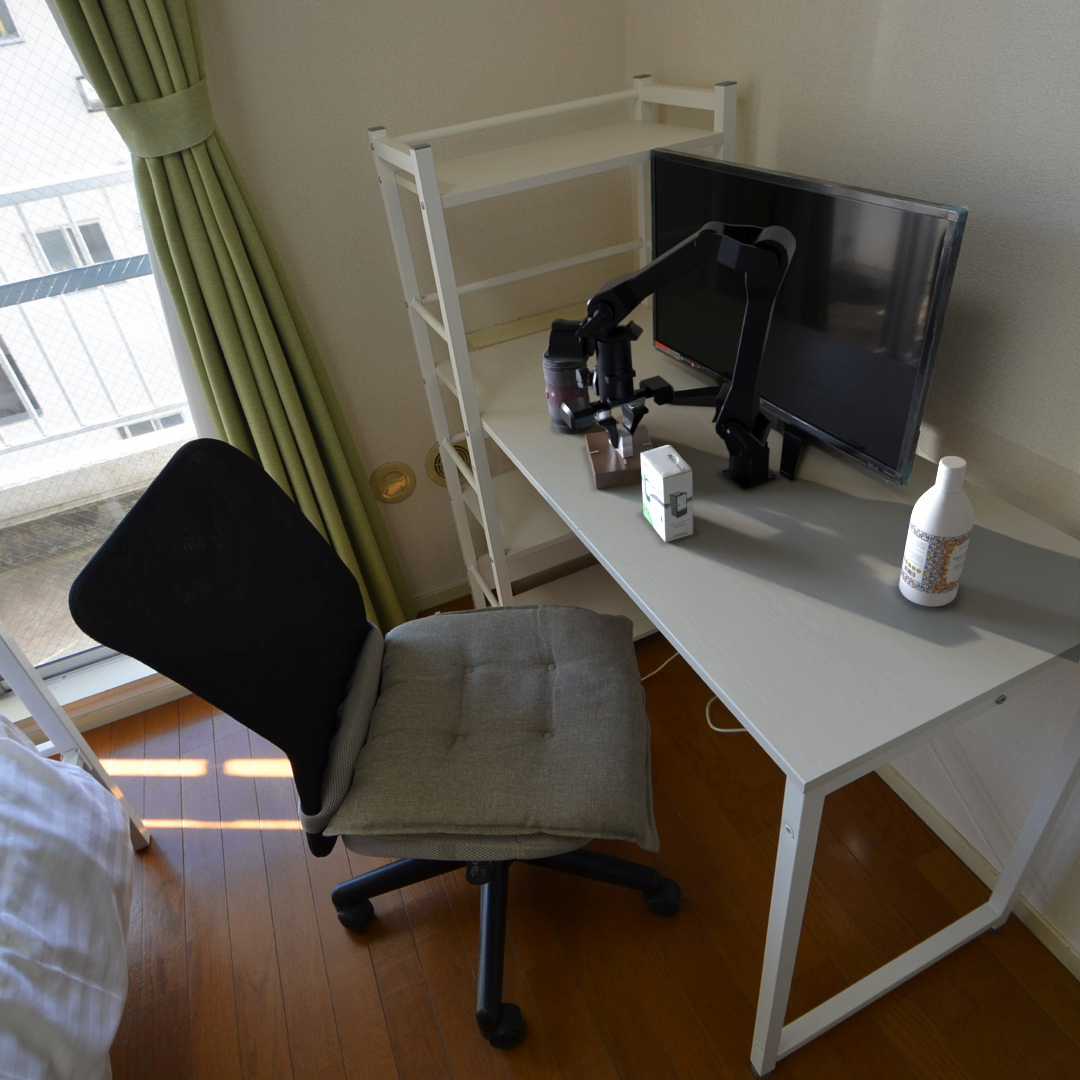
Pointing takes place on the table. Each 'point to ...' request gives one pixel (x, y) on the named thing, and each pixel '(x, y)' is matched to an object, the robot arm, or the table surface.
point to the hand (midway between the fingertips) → (620, 446)
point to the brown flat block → (616, 459)
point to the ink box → (667, 492)
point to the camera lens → (562, 388)
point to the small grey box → (624, 441)
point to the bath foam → (938, 538)
